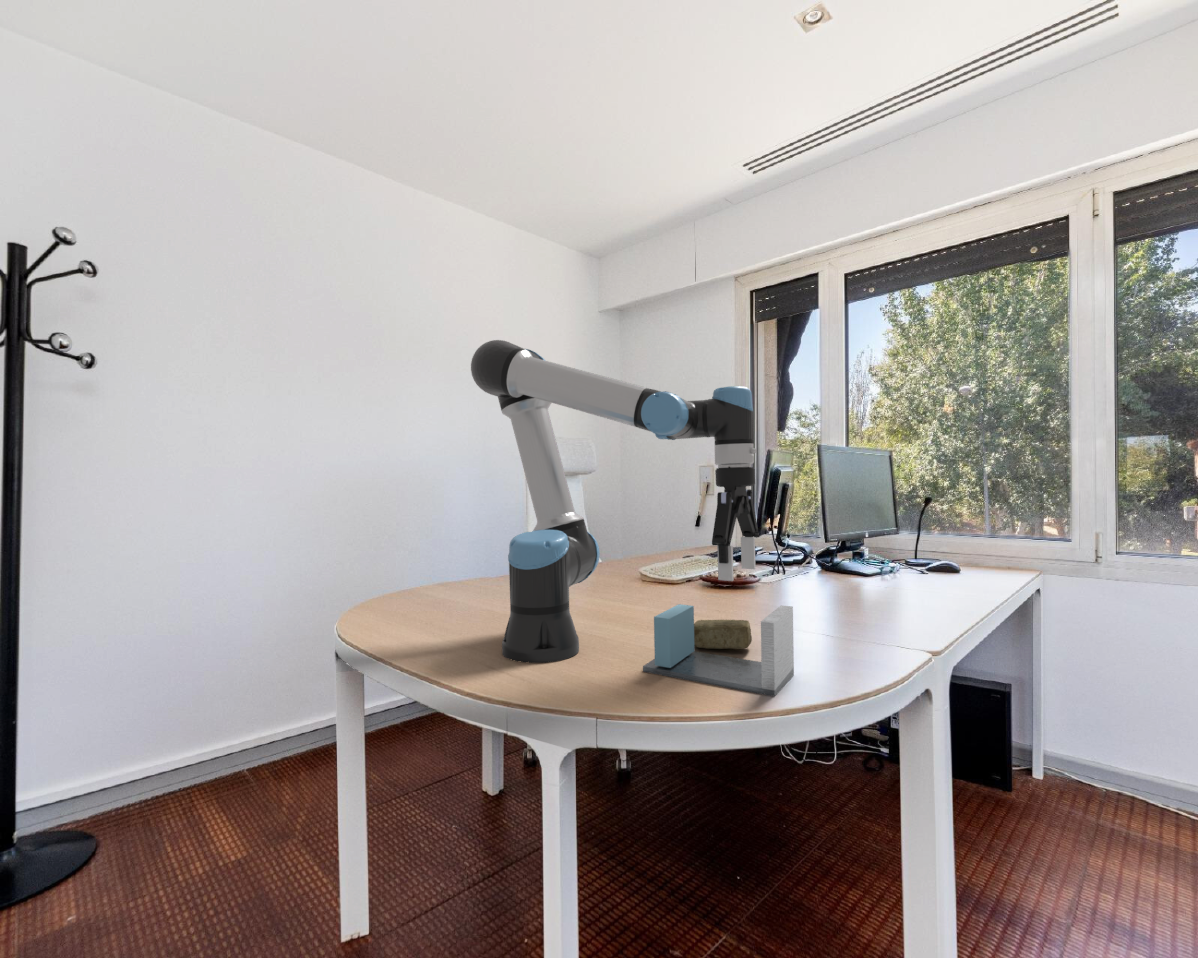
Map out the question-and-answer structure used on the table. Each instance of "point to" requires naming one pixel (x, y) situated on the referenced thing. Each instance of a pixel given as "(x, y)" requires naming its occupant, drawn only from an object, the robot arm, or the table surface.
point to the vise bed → (744, 661)
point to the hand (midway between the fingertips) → (737, 574)
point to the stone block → (722, 634)
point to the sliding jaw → (673, 635)
